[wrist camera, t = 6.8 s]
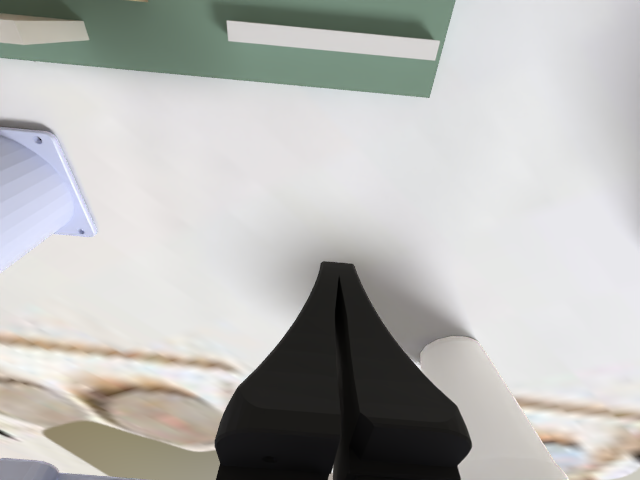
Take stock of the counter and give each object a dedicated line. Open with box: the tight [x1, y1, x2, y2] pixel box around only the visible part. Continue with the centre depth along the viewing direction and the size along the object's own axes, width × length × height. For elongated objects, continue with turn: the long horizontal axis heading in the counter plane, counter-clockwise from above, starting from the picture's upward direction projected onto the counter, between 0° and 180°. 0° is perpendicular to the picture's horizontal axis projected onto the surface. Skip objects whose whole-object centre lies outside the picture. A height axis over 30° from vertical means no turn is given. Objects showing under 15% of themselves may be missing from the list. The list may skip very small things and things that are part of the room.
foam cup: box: [420, 336, 569, 480], centre depth 26 cm, size 10×9×13 cm
